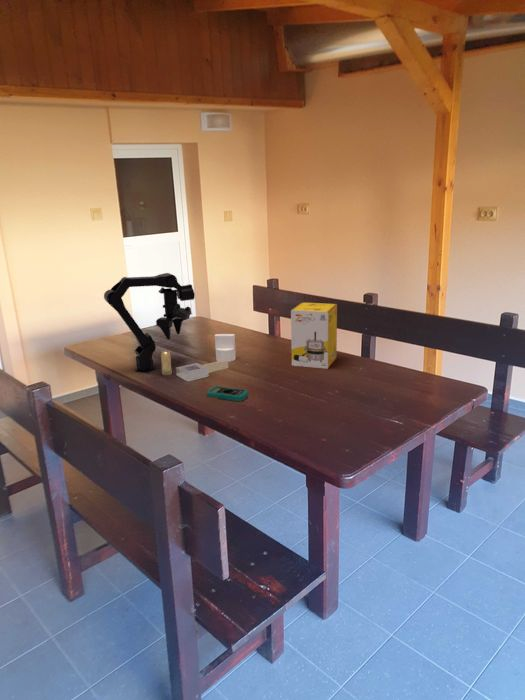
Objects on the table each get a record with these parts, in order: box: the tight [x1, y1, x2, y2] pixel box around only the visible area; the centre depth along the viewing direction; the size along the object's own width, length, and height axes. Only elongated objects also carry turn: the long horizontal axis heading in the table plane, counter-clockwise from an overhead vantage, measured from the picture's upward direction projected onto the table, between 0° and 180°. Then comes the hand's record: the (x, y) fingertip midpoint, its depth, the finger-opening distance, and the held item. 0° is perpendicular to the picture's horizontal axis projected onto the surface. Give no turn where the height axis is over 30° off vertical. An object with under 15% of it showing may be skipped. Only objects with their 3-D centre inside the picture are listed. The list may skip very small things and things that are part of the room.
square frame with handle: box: [175, 360, 229, 382], centre depth 229 cm, size 10×22×4 cm, turn 125°
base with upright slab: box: [214, 333, 237, 363], centre depth 246 cm, size 9×9×12 cm
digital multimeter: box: [206, 385, 249, 402], centre depth 204 cm, size 7×15×3 cm, turn 68°
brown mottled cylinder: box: [159, 349, 173, 376], centre depth 229 cm, size 4×4×10 cm
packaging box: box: [290, 302, 338, 370], centre depth 238 cm, size 16×16×25 cm
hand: (173, 336), depth 240 cm, fingers open, 9 cm apart
